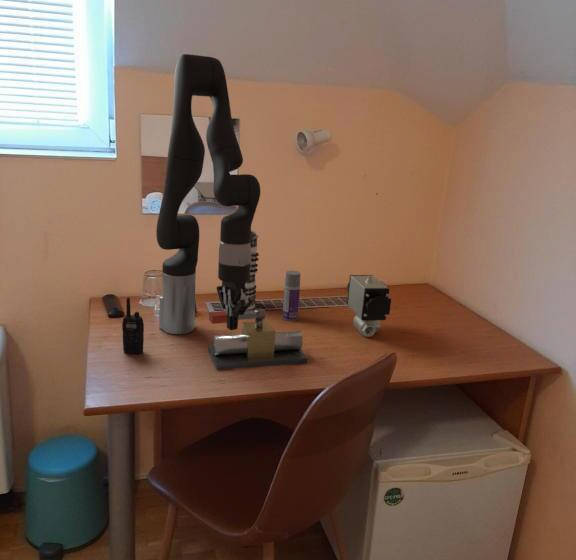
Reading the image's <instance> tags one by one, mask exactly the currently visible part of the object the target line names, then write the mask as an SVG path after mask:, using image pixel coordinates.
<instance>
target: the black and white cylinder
mask: <svg viewBox="0 0 576 560" xmlns="http://www.w3.org/2000/svg"><path fill="white" fill-rule="evenodd" d="M258 238H259V235H258V234H257V233H256V231H254V230H252V229H251V240H250V245H251V265H250V279H249V280H248V281H247V282H246V283H245V288H246V293H245V295H246V297H247V299H249V298H250V299H251V304H250V305H249V307H248V308H247V310H246V311H251V310H254V308H256V297H257V296H256V294H257V290H256V289H257V285H256V274H257V273H258V268H257V267H259V264H258V263H257V262H258V261H259V259H260V258H259V256H260V254H259V252H257V251H258Z"/></svg>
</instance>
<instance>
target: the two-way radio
mask: <svg viewBox="0 0 576 560" xmlns="http://www.w3.org/2000/svg"><path fill="white" fill-rule="evenodd" d="M130 299H131V298H130V297H126V304H125V305H126V311H125V312H126V315H125V316H123V318H122V319H123V320H122V321H121V325H122V327H121V328H122V347H123V348H122V350H123V352H124V353H126V354H136V355H137V354H138V355H139V354H142V353H143V352H144V342H145V341H144V338H145V337H144V334H145V333H144V331H145V326H144V325H145V323H144V320H143V317H142V316H141V315H140V313H139V311H135V312H134V314H131V300H130Z"/></svg>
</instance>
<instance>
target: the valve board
mask: <svg viewBox="0 0 576 560" xmlns="http://www.w3.org/2000/svg"><path fill="white" fill-rule="evenodd" d="M241 328H242V331H241V333H237V334H235V333H234V334H218V335H213V336H212V337H213V338H212V344H208V346H207V347H208V348H207V351H208V353H209V356H210V358H211V360H212V362H213V365H214V367H215V370H216V371H219V370H220V371H221V370H222V371H223V370H233V369H235V370H236V369H246V368H247V369H248V368H259V367H260V368H261V367H263V368H264V367H272V366H273V367H274V366H275V367H276V366H290V365H301V364H303V365H304V364H308V361H309V358H308V356H307V355H306V354H305V353H304V351H303V350H302V348H303V336H302V332H301V331H300V330H294V331H293V330H291V331H289V330H288V331H276V329H274V327H273V326H272V325H271V323H270V321H267V320H266V321H264V319H263V320H256V319H254V321H247V322H245V321H243V322H242V327H241Z"/></svg>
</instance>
